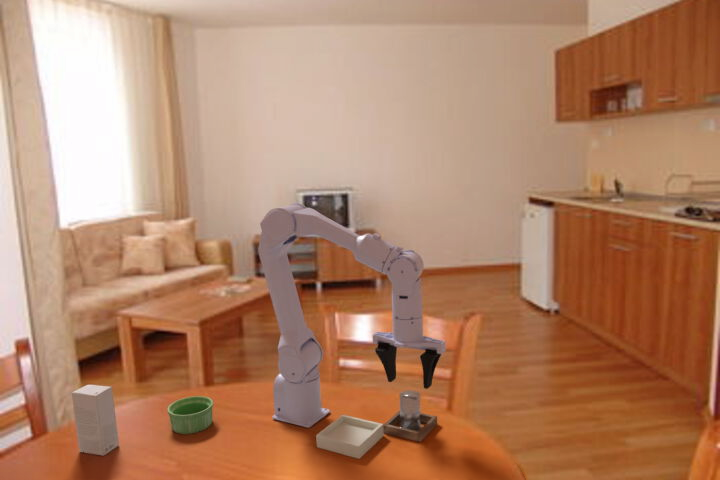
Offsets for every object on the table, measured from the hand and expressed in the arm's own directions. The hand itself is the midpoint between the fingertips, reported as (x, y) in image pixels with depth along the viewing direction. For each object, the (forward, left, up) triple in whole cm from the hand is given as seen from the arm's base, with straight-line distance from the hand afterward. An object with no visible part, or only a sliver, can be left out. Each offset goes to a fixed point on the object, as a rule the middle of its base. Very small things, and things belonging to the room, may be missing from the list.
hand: (409, 383), depth 109 cm
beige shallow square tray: (-8, -10, -9) cm, 16 cm away
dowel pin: (0, 0, -9) cm, 9 cm away
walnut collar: (0, 0, -9) cm, 9 cm away
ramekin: (-41, -18, -10) cm, 46 cm away
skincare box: (-50, -33, -10) cm, 61 cm away
